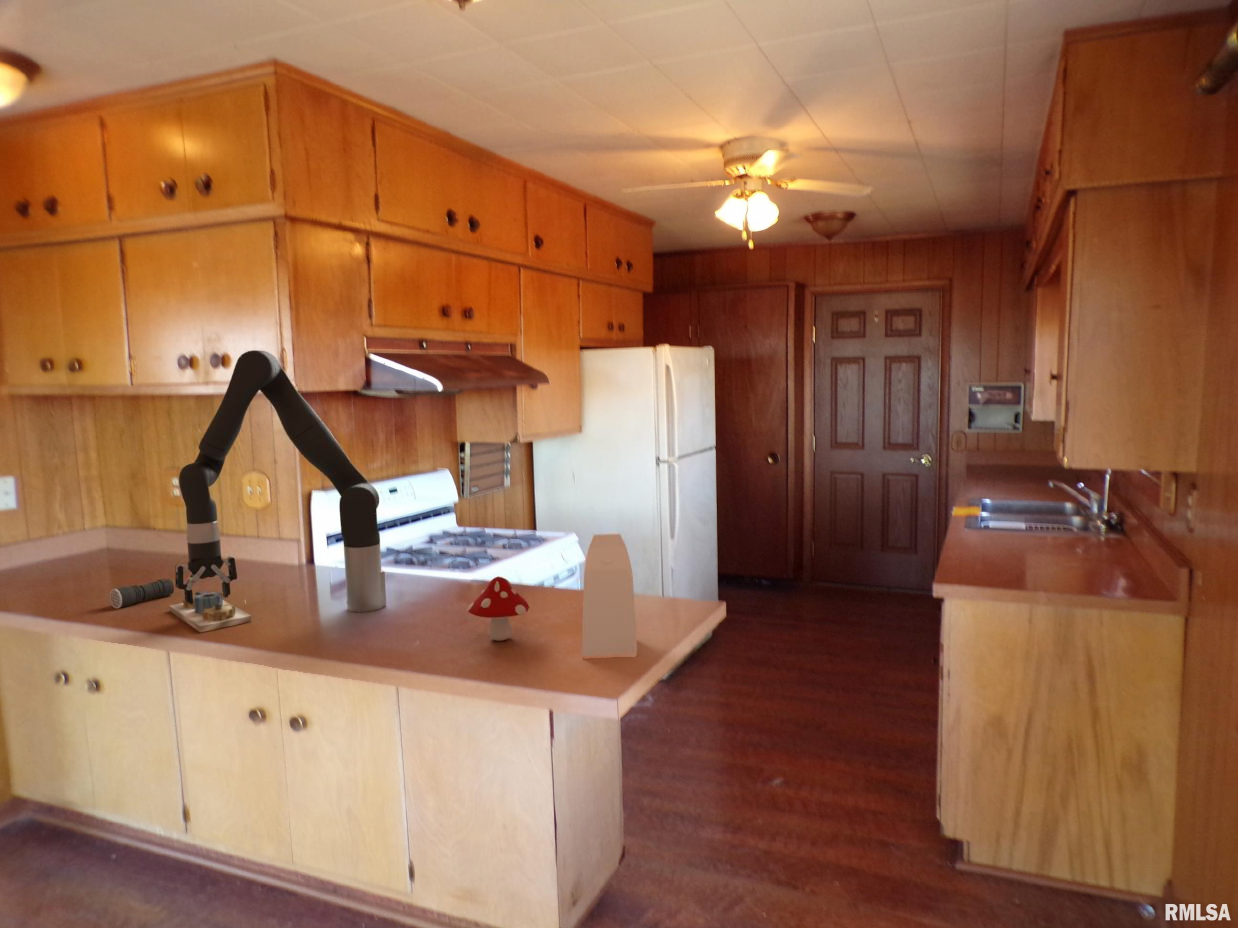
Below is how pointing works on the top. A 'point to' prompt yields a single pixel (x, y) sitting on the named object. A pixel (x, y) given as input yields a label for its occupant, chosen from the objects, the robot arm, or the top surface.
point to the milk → (608, 598)
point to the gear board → (210, 615)
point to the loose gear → (206, 601)
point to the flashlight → (140, 593)
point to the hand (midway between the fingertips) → (208, 600)
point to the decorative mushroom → (499, 607)
